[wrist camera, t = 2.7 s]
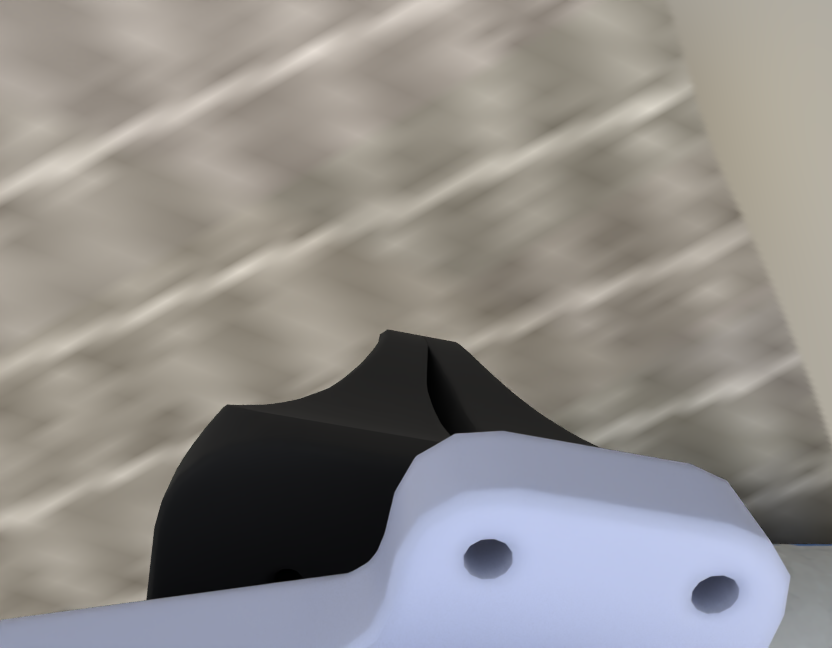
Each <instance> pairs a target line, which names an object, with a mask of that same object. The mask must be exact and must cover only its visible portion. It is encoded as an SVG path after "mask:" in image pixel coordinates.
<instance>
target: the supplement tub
mask: <svg viewBox="0 0 832 648" xmlns="http://www.w3.org/2000/svg"><path fill="white" fill-rule="evenodd" d="M773 546H774V548H775V550H776V551H777V553H778V555H779V557H780V558H781V560H782V562H783V564H784V565H785V567H786V569H787V571H788V572H789V574H790V576H791V577H790V583H789V589H788V595H787V601H786V608H785V614H784V617H783V619H782V621H781V623H780V625H779V627H778V629H777V631H776V633H775V635H774V637H773V639H772V641H771V643H770V645H769V647H768V648H832V544H773Z"/></svg>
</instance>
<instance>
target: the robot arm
mask: <svg viewBox="0 0 832 648" xmlns="http://www.w3.org/2000/svg"><path fill="white" fill-rule="evenodd" d="M790 577H791V576H790V574H789V572H788V571H787V569H786V567H785V565H784V564H783V562H782V560H781V558H780V557H779V555H778V553H777V551H776V550H775V548H774V546H773V544H772V543H771V541H770V540H769V538H768V537H767V536H766V534H765V533H764V531H763V530H762V529H761V527H760V526H759V524H758V523H757V522H756V520H755V519H754V517H753V516H752V515H751V513H750V512H749V510H748V509H747V508H746V506H745V505H744V504H743V502H742V501H741V499H740V498H739V497H738V495H737V494H736V492H735V491H734V490H733V488H732V487H731V485H730V484H729V483H728V481H727V480H725V479H722V478H720V477H718V476H716V475H714V474H711V473H709V472H707V471H705V470H703V469H701V468H698V467H696V466H694V465H692V464H690V463H684V462H678V461H672V460H667V459H661V458H655V457H649V456H644V455H638V454H632V453H627V452H621V451H615V450H609V449H604V448H599V447H597V446H595V445H593V444H591V443H589V442H587V441H585V440H583V439H581V438H579V437H578V436H576V435H574V434H572V433H570V432H568V431H567V430H565V429H564V428H562V427H560V426H559V425H557V424H556V423H554V422H552V421H551V420H549V419H548V418H546V417H544V416H543V415H542V414H540V413H539V412H537V411H536V410H534V409H533V408H532V407H530V406H529V405H528V404H527V403H525V402H524V401H523V400H521V399H520V398H519V397H518V396H516V395H515V394H514V393H513V392H511V391H510V390H509V389H508V388H507V387H506V386H504V385H503V384H502V383H501V382H500V381H499V380H498V379H497V378H495V377H494V376H493V375H492V374H491V373H490V372H489V371H488V370H487V369H486V368H485V367H484V366H483V365H482V364H480V363H479V362H478V361H477V360H476V359H475V358H474V357H473V356H472V355H471V354H470V353H469V352H468V351H467V350H465V349H464V348H463V347H462V346H461V345H459V344H458V343H456V342H452V341H447V340H441V339H436V338H430V337H425V336H420V335H414V334H409V333H404V332H398V331H393V330H386V331H385V332H383V333H382V334H380V337H379V342H378V344H377V345H376V346H375V348H374V349H373V351H372V352H371V353H370V354H369V355H368V356H367V357H366V359H365V360H364V361H363V362H362V363H361V364H360V365H359V366H358V367H357V368H355V369H354V370H353V371H352V372H351V373H349V374H348V375H347V376H346V377H345V378H343V379H342V380H341V381H339V382H338V383H336V384H335V385H333V386H332V387H330V388H328V389H326V390H323V391H320V392H318V393H315V394H312V395H309V396H307V397H304V398H301V399H297V400H292V401H288V402H282V403H275V404H267V405H226V406H225V407H223V408H222V409H221V411H220V412H219V413H218V414H217V415H216V416H215V417H214V419H213V420H212V421H211V422H210V423H209V424H208V426H207V427H206V428H205V429H204V430H203V432H202V433H201V434H200V436H199V437H198V438H197V440H196V441H195V442H194V444H193V445H192V446H191V448H190V449H189V451H188V452H187V454H186V455H185V457H184V458H183V460H182V461H181V463H180V465H179V467H178V468H177V470H176V472H175V474H174V476H173V478H172V480H171V482H170V485H169V487H168V489H167V491H166V493H165V495H164V498H163V500H162V502H161V506H160V510H159V513H158V517H157V520H156V524H155V528H154V537H153V546H152V555H151V564H150V573H149V582H148V591H147V600H144V601H137V602H129V603H122V604H114V605H107V606H100V607H92V608H85V609H77V610H70V611H62V612H55V613H48V614H40V615H33V616H25V617H18V618H10V619H3V620H0V648H768V647H769V645H770V643H771V641H772V639H773V637H774V635H775V633H776V631H777V629H778V627H779V625H780V623H781V621H782V619H783V617H784V614H785V608H786V601H787V595H788V589H789V583H790Z"/></svg>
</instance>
